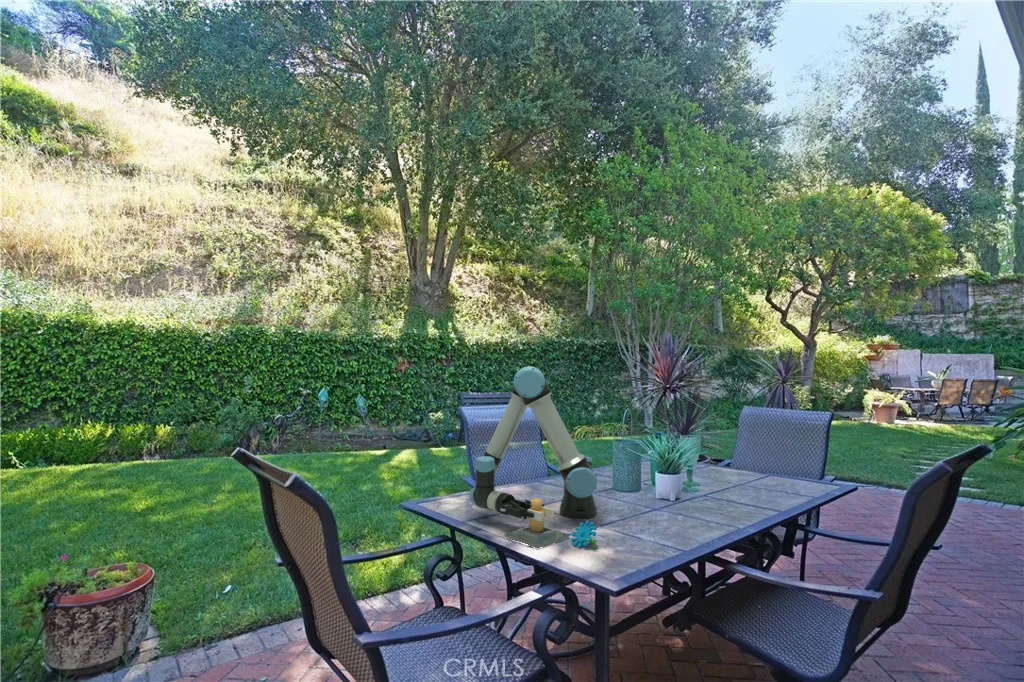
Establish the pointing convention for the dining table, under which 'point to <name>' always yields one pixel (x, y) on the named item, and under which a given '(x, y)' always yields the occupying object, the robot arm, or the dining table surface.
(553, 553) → the dining table surface
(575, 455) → the robot arm
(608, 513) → the dining table surface
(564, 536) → the junction box
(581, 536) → the gear
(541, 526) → the stacked tan cylinders
